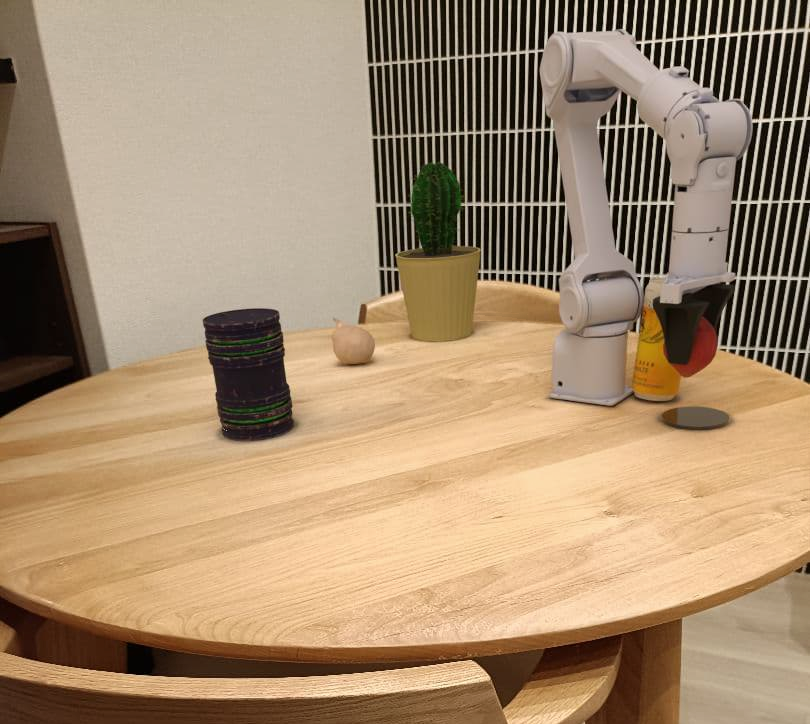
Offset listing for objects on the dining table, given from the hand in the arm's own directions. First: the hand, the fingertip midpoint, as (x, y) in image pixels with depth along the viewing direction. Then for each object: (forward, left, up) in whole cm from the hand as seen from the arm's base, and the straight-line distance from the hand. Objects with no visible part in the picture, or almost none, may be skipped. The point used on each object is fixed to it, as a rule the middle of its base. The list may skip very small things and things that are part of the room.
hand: (688, 356), depth 93 cm
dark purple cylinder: (-50, -22, -10) cm, 55 cm away
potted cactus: (-58, +33, -10) cm, 68 cm away
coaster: (-1, +6, -9) cm, 11 cm away
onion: (0, 0, -3) cm, 3 cm away
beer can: (-8, +12, -9) cm, 17 cm away
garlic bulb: (-60, +10, -10) cm, 61 cm away
